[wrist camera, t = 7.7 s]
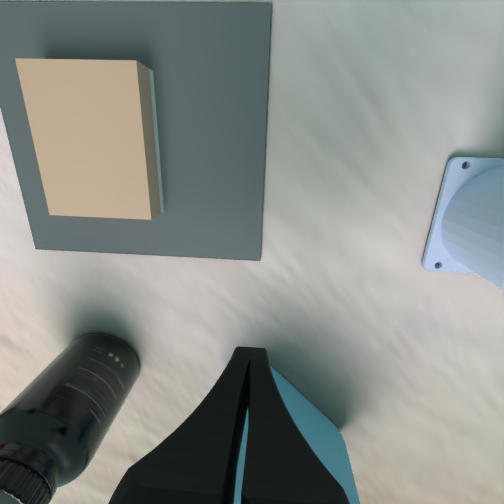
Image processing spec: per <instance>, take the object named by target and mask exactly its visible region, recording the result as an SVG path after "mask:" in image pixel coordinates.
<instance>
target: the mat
mask: <svg viewBox="0 0 504 504" xmlns="http://www.w3.org/2000/svg"><path fill="white" fill-rule="evenodd" d="M270 23H271V3H223V2H59V1H0V107H1V111H2V115H3V119H4V123H5V127H6V132H7V136H8V140H9V144H10V148H11V152H12V156H13V160H14V164H15V168H16V172H17V176H18V180H19V184H20V188H21V192H22V196H23V200H24V204H25V208H26V212H27V216H28V220H29V224H30V228H31V232H32V236H33V240H34V244H35V248H36V249H43V250H62V251H81V252H100V253H119V254H138V255H158V256H177V257H196V258H215V259H234V260H253V261H260V256H261V233H262V210H263V186H264V163H265V140H266V117H267V93H268V70H269V47H270ZM15 58H22V59H82V60H136V61H138V62H140V63H141V64H143V65H144V66H146V67H148V68H149V69H151V70H152V71H153V76H154V89H155V101H156V114H157V127H158V140H159V152H160V165H161V178H162V191H163V203H164V212H163V213H162V214H160V215H158V216H157V217H155V218H153V219H152V220H146V219H124V218H103V217H81V216H59V215H49V210H48V206H47V201H46V197H45V192H44V188H43V183H42V179H41V174H40V170H39V165H38V161H37V156H36V151H35V147H34V142H33V138H32V133H31V129H30V124H29V120H28V115H27V111H26V106H25V102H24V97H23V93H22V88H21V83H20V79H19V74H18V70H17V65H16V61H15Z"/></svg>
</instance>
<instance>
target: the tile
mask: <svg viewBox="0 0 504 504" xmlns="http://www.w3.org/2000/svg"><path fill="white" fill-rule="evenodd" d="M15 61H16V65H17V70H18V74H19V79H20V83H21V88H22V93H23V97H24V102H25V106H26V111H27V115H28V120H29V124H30V129H31V133H32V138H33V142H34V147H35V151H36V156H37V161H38V165H39V170H40V174H41V179H42V183H43V188H44V192H45V197H46V201H47V206H48V210H49V215H59V216H81V217H103V218H124V219H146V220H152V219H153V218H155V217H157V216H158V215H160V214H162V213H163V212H164V203H163V191H162V178H161V165H160V152H159V140H158V127H157V114H156V101H155V89H154V76H153V71H152V70H151V69H149V68H148V67H146V66H144V65H143V64H141V63H140V62H138V61H136V60H82V59H22V58H15Z"/></svg>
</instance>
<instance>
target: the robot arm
mask: <svg viewBox="0 0 504 504" xmlns="http://www.w3.org/2000/svg"><path fill="white" fill-rule="evenodd" d="M465 161H466V163H467V165H466V167H465V168H464V169H463V168H462V164H463V163H464V162H465ZM437 262H439V265H438V266H435V264H436V263H437ZM422 267H423V268H424V269H426V270H427V271H439V272H458V273H476V274H478V275H480V276H481V277H483V278H484V279H486V280H488V281H489V282H491V283H492V284H494V285H496V286H497V287H499V288H500V289H502V290H504V158H479V157H453V158H452V159H450V160H449V161H448V164H447V167H446V171H445V175H444V178H443V182H442V186H441V190H440V194H439V198H438V202H437V206H436V210H435V214H434V217H433V221H432V225H431V229H430V233H429V237H428V241H427V245H426V249H425V253H424V257H423V260H422ZM247 409H248V434H247V444H246V454H245V463H244V472H243V481H242V489H241V504H350V503H349V500H348V498H347V495H346V493H345V491H344V489H343V487H342V486H341V485H340V484H339V482H338V481H337V480H336V479H335V478H334V477H333V475H332V474H331V473H330V472H329V471H328V469H327V468H326V467H325V466H324V464H323V463H322V462H321V460H320V459H319V458H318V457H317V455H316V454H315V453H314V451H313V450H312V448H311V447H310V445H309V444H308V442H307V441H306V439H305V438H304V436H303V435H302V433H301V432H300V430H299V429H298V427H297V425H296V424H295V422H294V420H293V418H292V417H291V415H290V413H289V411H288V409H287V407H286V405H285V403H284V401H283V399H282V397H281V395H280V392H279V390H278V388H277V385H276V382H275V380H274V377H273V374H272V371H271V368H270V365H269V361H268V356H267V350H266V349H265V348H253V347H236V348H235V350H234V353H233V355H232V357H231V359H230V361H229V363H228V365H227V366H226V368H225V370H224V371H223V373H222V374H221V376H220V378H219V379H218V381H217V382H216V384H215V385H214V386H213V388H212V389H211V390H210V392H209V393H208V395H207V396H206V397H205V398H204V400H203V401H202V402H201V403H200V405H199V406H198V407H197V408H196V409H195V410H194V411H193V413H192V414H191V415H190V416H189V417H188V418H187V419H186V420H185V421H184V422H183V423H182V424H181V425H180V426H179V427H178V428H177V429H176V430H175V431H174V432H173V433H172V434H170V435H169V436H168V437H167V438H166V439H165V440H164V441H163V442H161V443H160V444H159V445H158V446H157V447H156V448H155V449H153V450H152V451H151V452H149V453H148V454H147V455H146V456H144V457H143V458H142V459H140V460H139V461H138V462H136V463H135V464H134V465H132V466H131V467H130V468H128V470H127V471H126V473H125V475H124V476H123V478H122V479H121V481H120V483H119V484H118V486H117V488H116V490H115V491H114V493H113V495H112V497H111V499H110V501H109V504H234V496H235V486H236V475H237V467H238V460H239V454H240V448H241V443H242V437H243V431H244V426H245V420H246V415H247Z"/></svg>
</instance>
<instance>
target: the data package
mask: <svg viewBox="0 0 504 504" xmlns="http://www.w3.org/2000/svg"><path fill="white" fill-rule="evenodd" d="M270 368H271V371H272V374H273V377H274V380H275V382H276V385H277V388H278V390H279V392H280V395H281V397H282V399H283V401H284V403H285V405H286V407H287V409H288V411H289V413H290V415H291V417H292V418H293V420H294V422H295V424H296V425H297V427H298V429H299V430H300V432H301V433H302V435H303V436H304V438H305V439H306V441H307V442H308V444H309V445H310V447H311V448H312V450H313V451H314V453H315V454H316V455H317V457H318V458H319V459H320V460H321V462H322V463H323V464H324V466H325V467H326V468H327V469H328V471H329V472H330V473H331V474H332V475H333V477H334V478H335V479H336V480H337V481H338V482H339V484H340V485H341V486H342V487H343V489H344V491H345V493H346V495H347V498H348V500H349V503H350V504H360V502H359V498H358V494H357V490H356V485H355V481H354V477H353V473H352V469H351V465H350V461H349V457H348V453H347V449H346V445H345V442H344V440H343V437H342V435H341V434H340V432H339V430H338V429H337V427H336V426H335V425H334V424H333V423H332V422H331V421H330V420H329V419H328V418H327V417H326V416H325V415H324V414H322V413H321V412H320V411H319V410H318V409H317V408H316V407H315V406H314V405H313V404H312V403H311V402H309V401H308V400H307V399H306V398H305V397H304V396H303V395H302V394H301V393H300V392H299V391H298V390H296V389H295V388H294V387H293V386H292V385H291V384H290V383H289V382H288V381H287V380H286V379H285V378H283V377H282V376H281V375H280V374H279V373H278V372H277V371H276V370H275V369H274V368H273V367H271V366H270ZM247 434H248V409H247V415H246V420H245V426H244V431H243V437H242V443H241V448H240V454H239V460H238V467H237V475H236V486H235V496H234V504H241V489H242V481H243V472H244V463H245V454H246V444H247Z"/></svg>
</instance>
